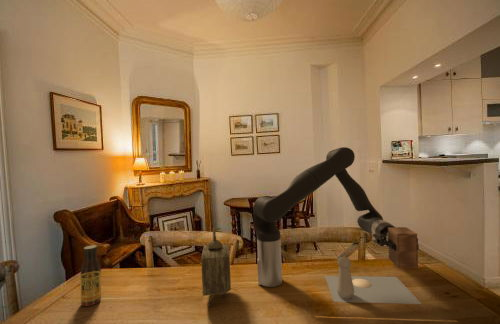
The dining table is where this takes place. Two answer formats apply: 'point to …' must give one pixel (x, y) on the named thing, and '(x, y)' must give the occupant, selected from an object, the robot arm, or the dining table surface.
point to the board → (374, 290)
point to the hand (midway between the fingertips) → (405, 247)
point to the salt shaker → (344, 279)
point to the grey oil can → (215, 269)
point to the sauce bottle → (90, 277)
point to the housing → (403, 247)
